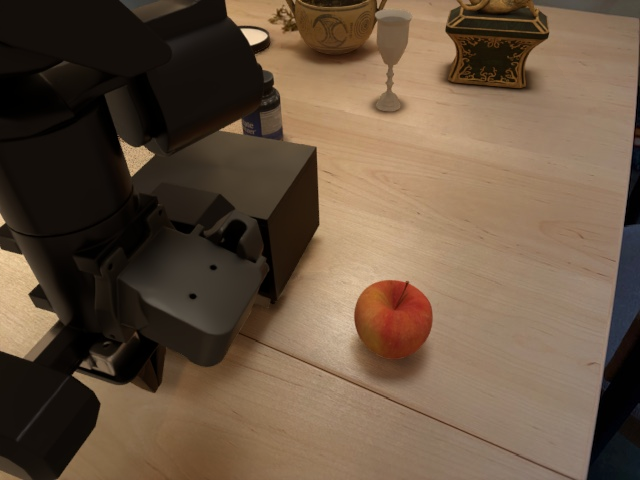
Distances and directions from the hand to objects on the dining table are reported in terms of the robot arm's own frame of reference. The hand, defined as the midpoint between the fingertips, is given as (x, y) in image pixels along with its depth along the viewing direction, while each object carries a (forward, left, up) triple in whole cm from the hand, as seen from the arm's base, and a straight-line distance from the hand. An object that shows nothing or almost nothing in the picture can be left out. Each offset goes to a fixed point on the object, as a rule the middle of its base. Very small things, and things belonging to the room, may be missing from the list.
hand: (152, 386), depth 35 cm
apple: (+20, -9, -13) cm, 26 cm away
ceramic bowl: (+84, +32, -13) cm, 91 cm away
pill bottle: (+46, +24, -13) cm, 54 cm away
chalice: (+66, +12, -13) cm, 68 cm away
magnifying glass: (+76, +57, -13) cm, 96 cm away
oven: (+23, +12, -13) cm, 29 cm away
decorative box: (+84, +2, -13) cm, 85 cm away
